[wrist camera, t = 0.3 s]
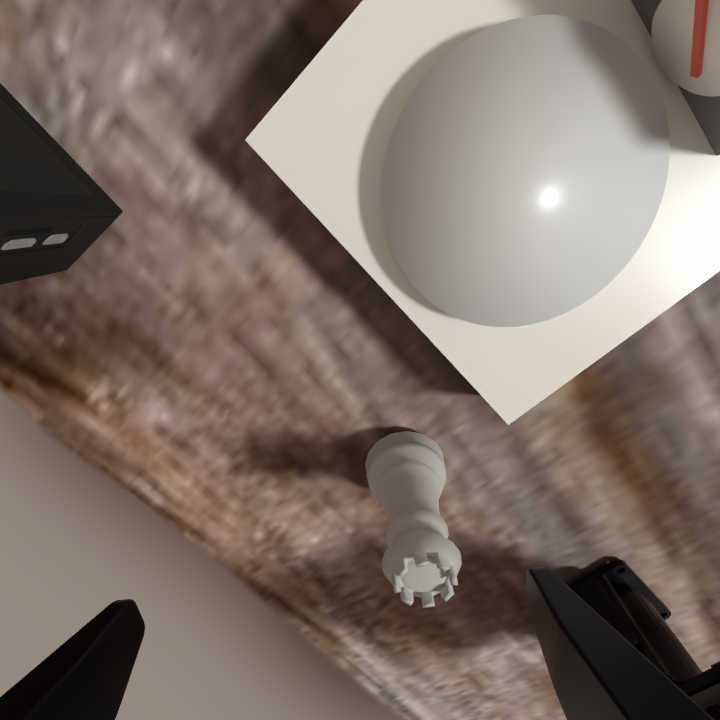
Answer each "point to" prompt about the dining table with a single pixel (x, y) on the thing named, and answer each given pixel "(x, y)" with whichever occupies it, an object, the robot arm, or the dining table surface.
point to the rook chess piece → (413, 516)
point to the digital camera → (43, 199)
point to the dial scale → (514, 171)
